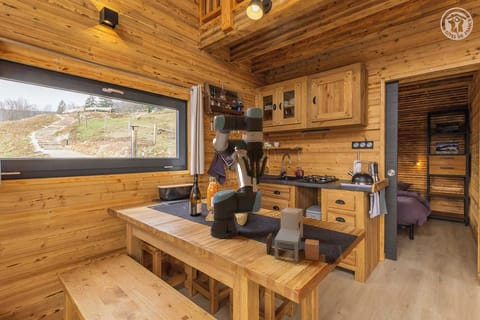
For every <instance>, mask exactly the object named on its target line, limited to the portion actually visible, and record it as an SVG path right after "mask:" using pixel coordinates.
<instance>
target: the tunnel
mask: <svg viewBox="0 0 480 320" xmlns="http://www.w3.org/2000/svg"><path fill="white" fill-rule="evenodd" d="M274 248H275V255H274V260H279V256H278V249H287V250H294V251H295V258H294V262H295V263H298V262H299V259H298V251H301V250H302V238H301V231H296V230H286V229H281V228H280V229H279V230H278V232H277V234H276V236H275V238H274Z"/></svg>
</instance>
